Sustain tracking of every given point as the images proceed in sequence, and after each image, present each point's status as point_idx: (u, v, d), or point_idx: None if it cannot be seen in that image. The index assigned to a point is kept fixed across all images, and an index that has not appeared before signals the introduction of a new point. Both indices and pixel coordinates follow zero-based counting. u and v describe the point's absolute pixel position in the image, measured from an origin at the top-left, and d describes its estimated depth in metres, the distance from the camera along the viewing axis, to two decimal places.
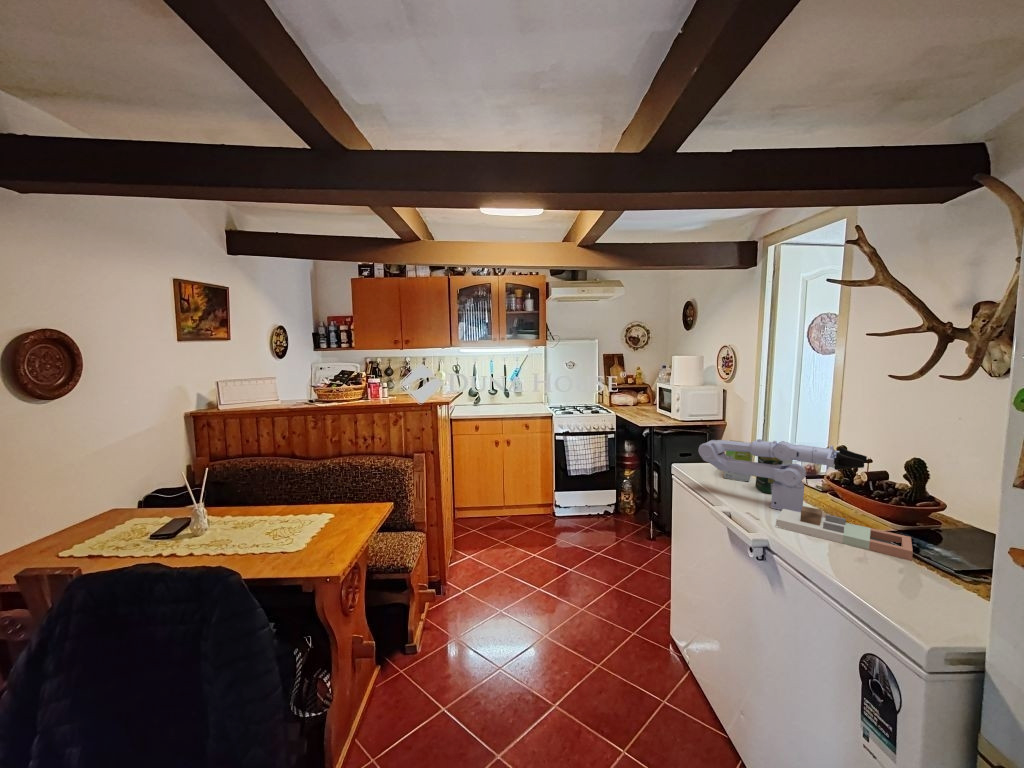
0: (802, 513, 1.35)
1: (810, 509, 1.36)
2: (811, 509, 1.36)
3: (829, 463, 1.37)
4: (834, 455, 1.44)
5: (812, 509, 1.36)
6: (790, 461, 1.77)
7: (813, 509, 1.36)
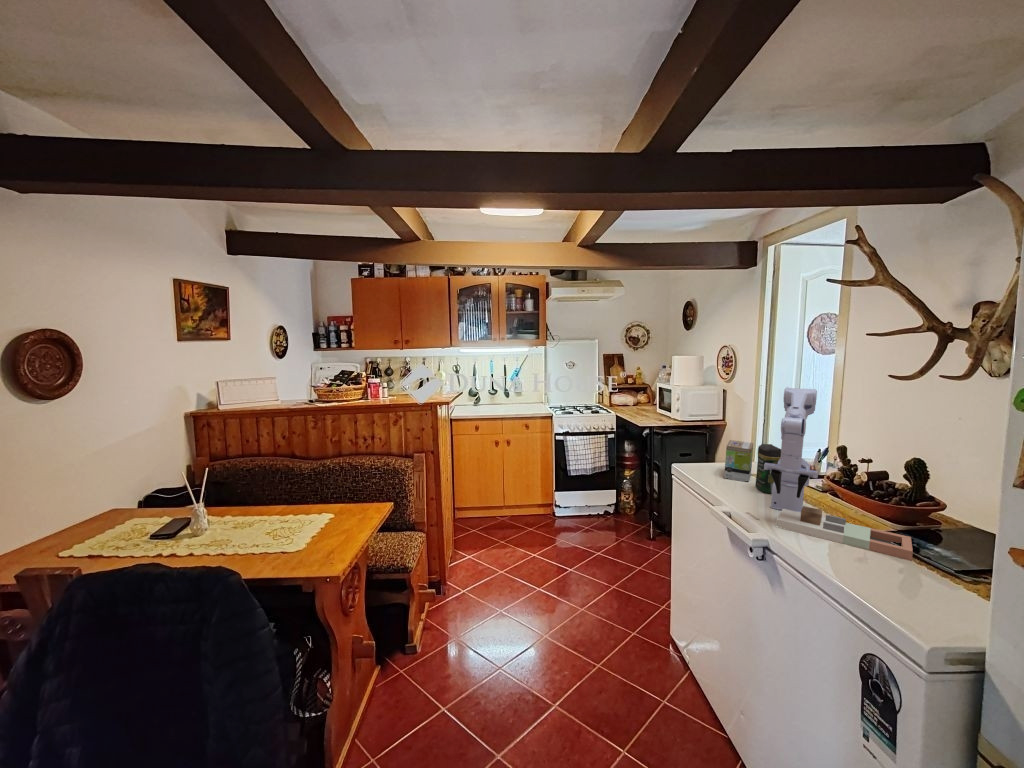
0: (802, 513, 1.35)
1: (810, 509, 1.36)
2: (811, 509, 1.36)
3: None
4: None
5: (812, 509, 1.36)
6: None
7: (813, 509, 1.36)
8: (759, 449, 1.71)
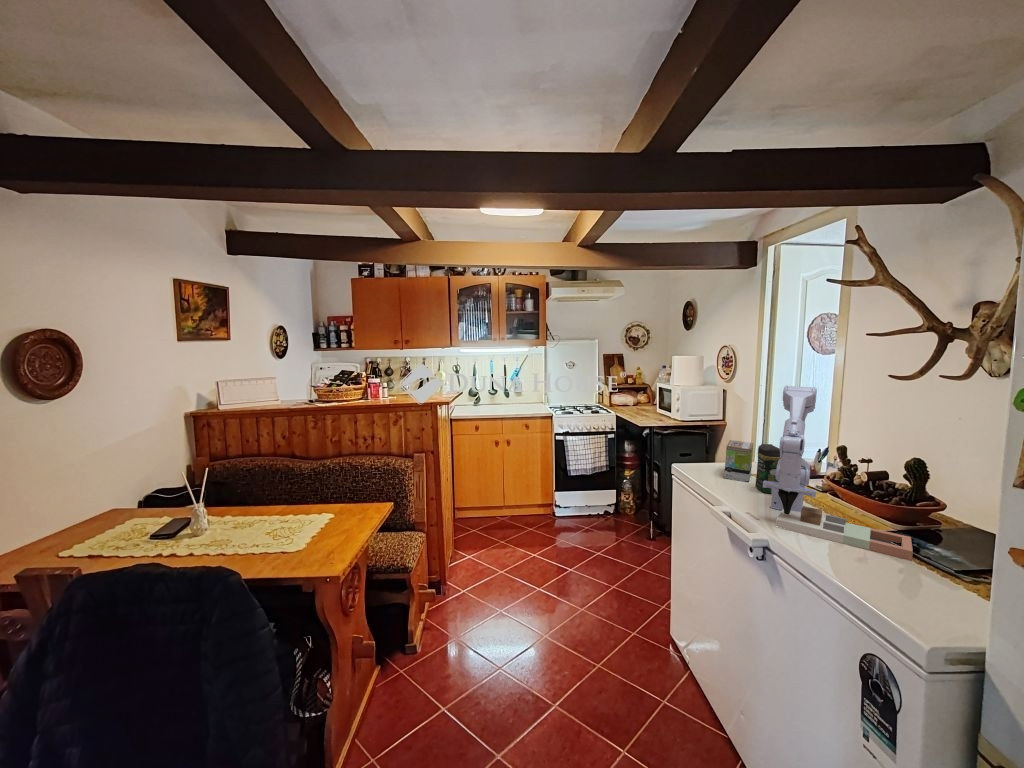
0: (802, 513, 1.35)
1: (810, 509, 1.36)
2: (811, 509, 1.36)
3: None
4: None
5: (812, 509, 1.36)
6: None
7: (813, 509, 1.36)
8: (759, 449, 1.71)
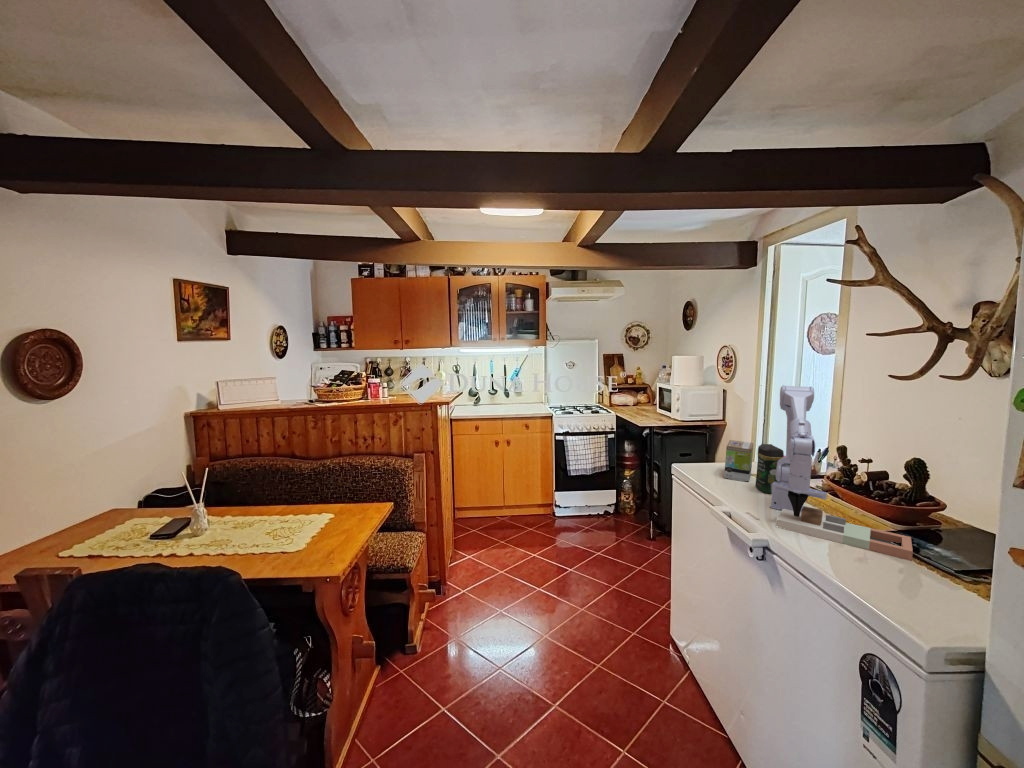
0: (802, 513, 1.35)
1: (810, 509, 1.36)
2: (811, 509, 1.36)
3: None
4: None
5: (812, 509, 1.36)
6: None
7: (813, 509, 1.36)
8: (759, 449, 1.71)
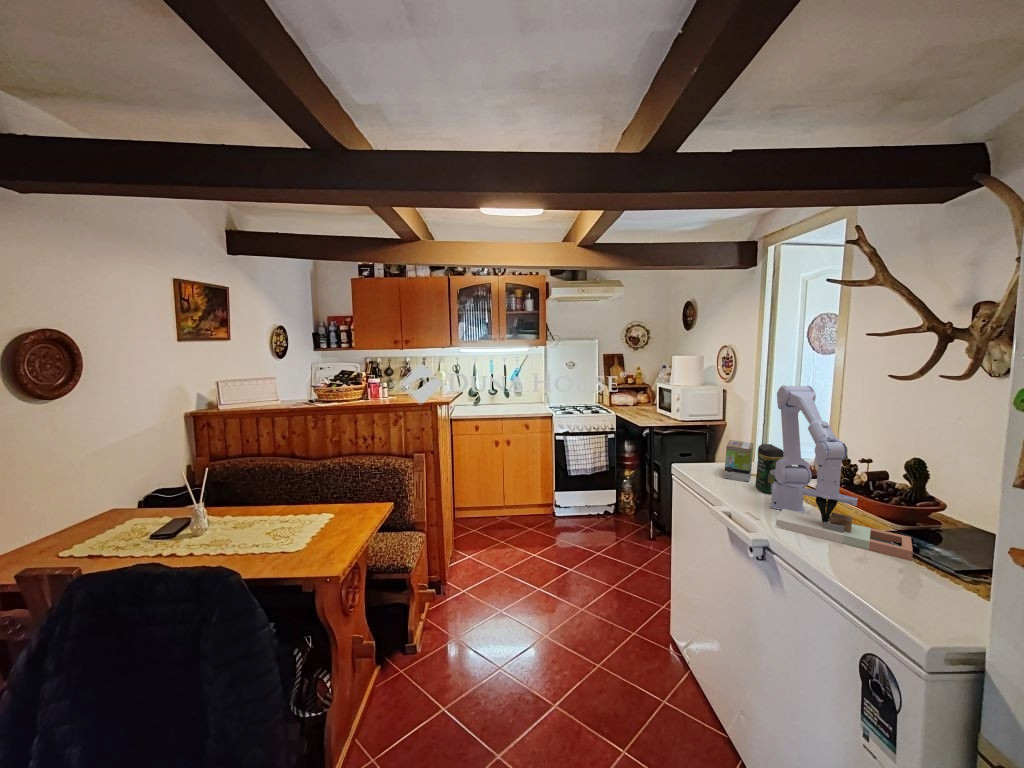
0: (832, 520, 1.30)
1: (839, 516, 1.31)
2: (841, 515, 1.31)
3: None
4: None
5: (841, 515, 1.31)
6: None
7: (843, 515, 1.31)
8: (759, 449, 1.71)
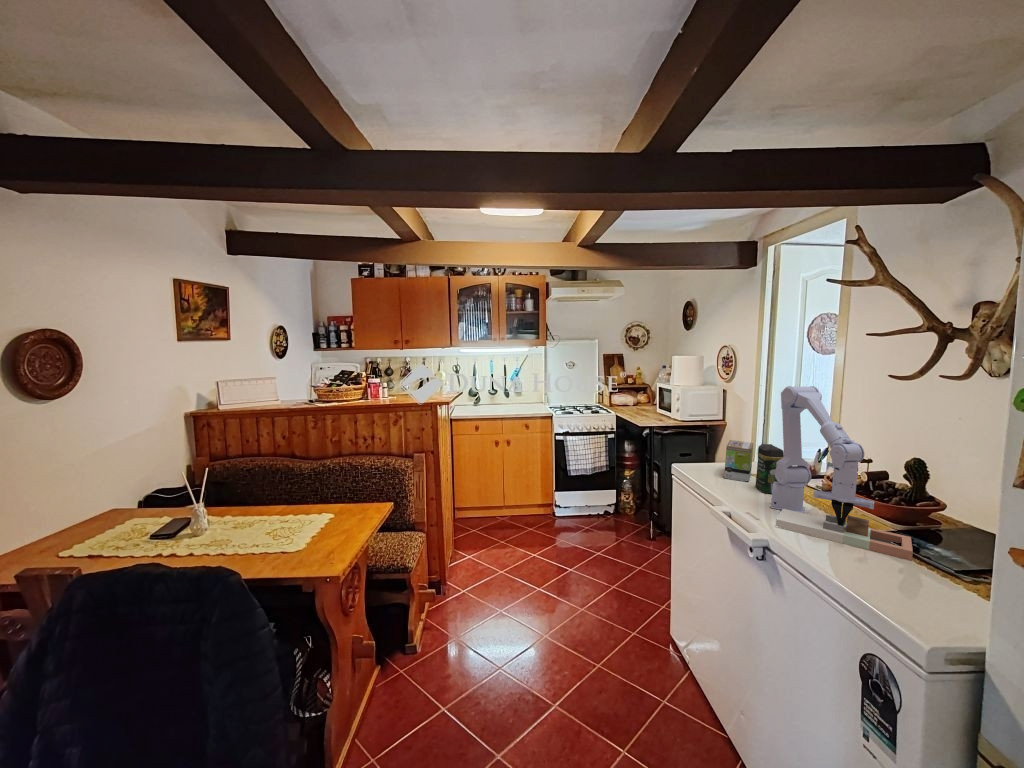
0: (848, 523, 1.27)
1: (856, 519, 1.28)
2: (857, 519, 1.29)
3: None
4: None
5: (858, 518, 1.29)
6: None
7: (859, 519, 1.29)
8: (759, 449, 1.71)
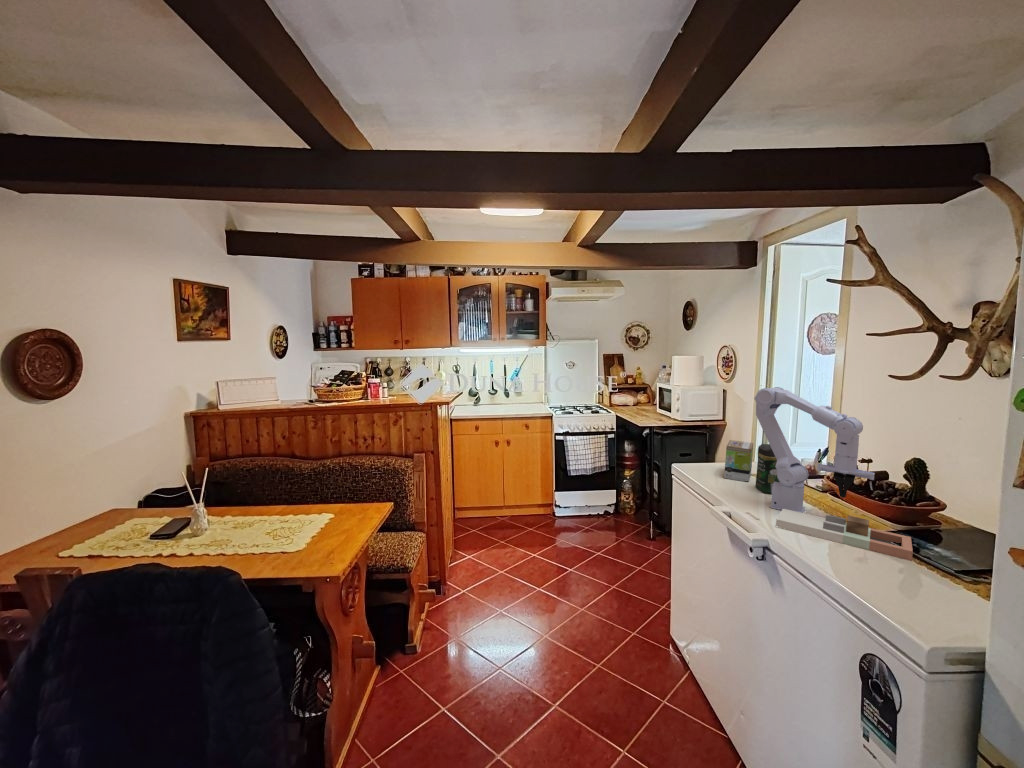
0: (848, 523, 1.27)
1: (856, 519, 1.28)
2: (857, 519, 1.29)
3: None
4: None
5: (858, 518, 1.29)
6: None
7: (859, 519, 1.29)
8: (759, 449, 1.71)
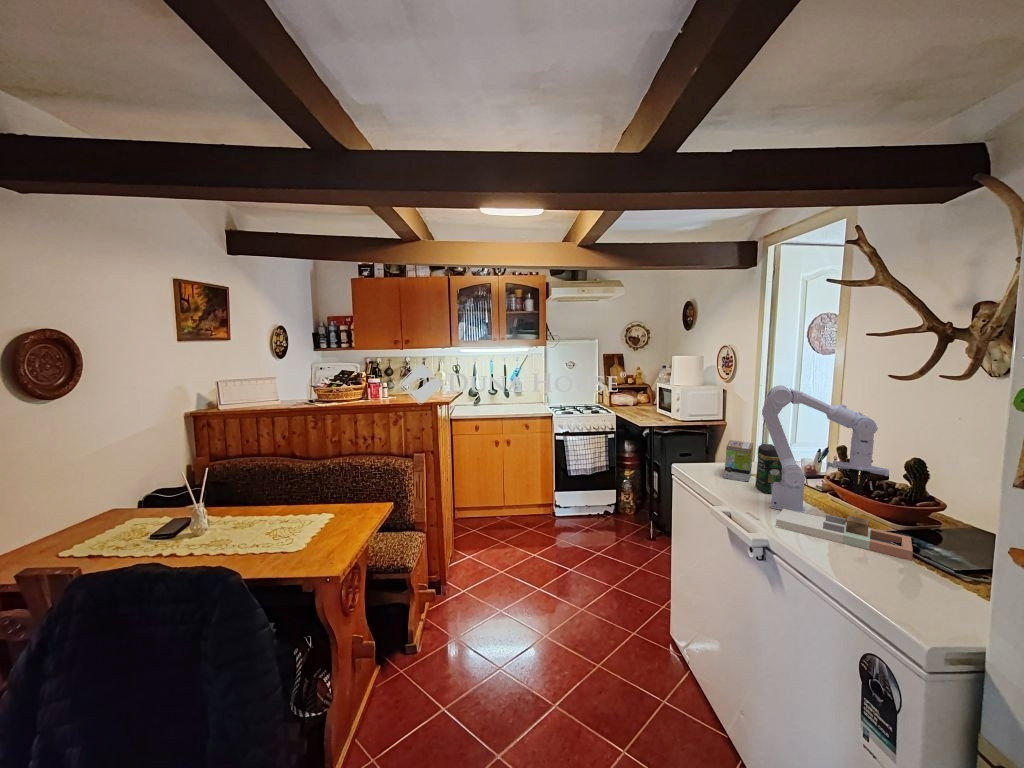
0: (848, 523, 1.27)
1: (856, 519, 1.28)
2: (857, 519, 1.29)
3: None
4: None
5: (858, 518, 1.29)
6: None
7: (859, 519, 1.29)
8: (759, 449, 1.71)
